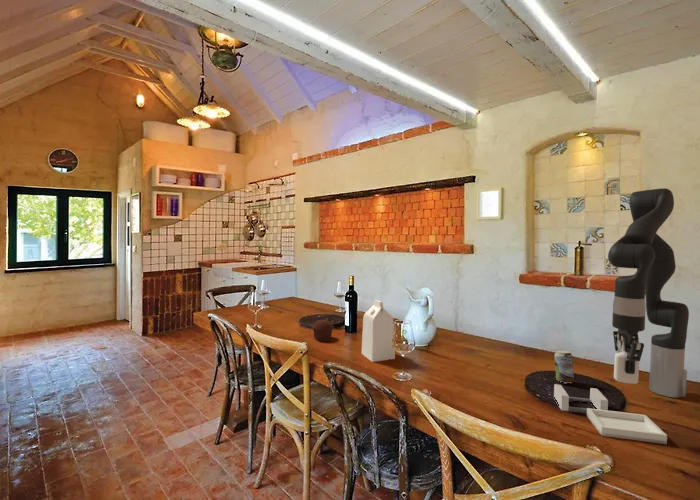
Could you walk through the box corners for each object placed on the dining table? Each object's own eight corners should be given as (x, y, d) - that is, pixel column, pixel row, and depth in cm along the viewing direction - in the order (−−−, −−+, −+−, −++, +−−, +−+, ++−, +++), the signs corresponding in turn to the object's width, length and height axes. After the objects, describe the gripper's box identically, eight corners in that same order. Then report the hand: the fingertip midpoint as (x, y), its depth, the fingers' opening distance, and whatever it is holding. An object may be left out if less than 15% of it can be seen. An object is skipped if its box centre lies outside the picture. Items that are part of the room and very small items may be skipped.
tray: (644, 422, 111) (645, 414, 111) (666, 444, 100) (667, 435, 99) (586, 415, 115) (587, 408, 115) (601, 435, 104) (601, 426, 104)
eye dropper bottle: (616, 376, 110) (617, 337, 110) (639, 382, 106) (641, 341, 105) (612, 380, 107) (613, 340, 107) (635, 386, 103) (637, 344, 102)
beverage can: (565, 386, 136) (566, 355, 136) (549, 379, 144) (550, 349, 143) (578, 385, 138) (579, 353, 138) (562, 377, 145) (563, 347, 145)
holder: (596, 403, 123) (597, 388, 123) (607, 415, 115) (608, 400, 115) (553, 398, 127) (554, 384, 127) (561, 410, 118) (561, 395, 118)
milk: (395, 358, 166) (395, 302, 165) (372, 361, 162) (372, 304, 160) (383, 350, 177) (383, 297, 176) (361, 353, 173) (361, 299, 172)
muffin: (310, 336, 201) (310, 318, 200) (330, 334, 204) (330, 317, 204) (315, 342, 189) (315, 323, 189) (335, 340, 193) (335, 322, 192)
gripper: (657, 319, 98) (654, 381, 99) (632, 308, 111) (629, 363, 112) (624, 317, 100) (622, 378, 101) (604, 306, 113) (601, 361, 114)
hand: (626, 370), depth 106 cm, fingers closed on eye dropper bottle, 3 cm apart
